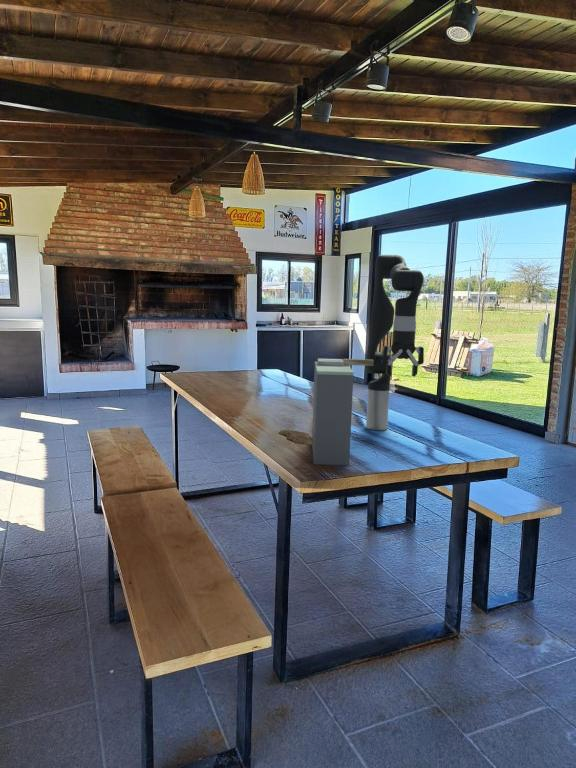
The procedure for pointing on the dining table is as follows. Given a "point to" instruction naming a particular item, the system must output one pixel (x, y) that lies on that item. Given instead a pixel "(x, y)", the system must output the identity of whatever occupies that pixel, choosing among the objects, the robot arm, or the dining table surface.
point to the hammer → (345, 362)
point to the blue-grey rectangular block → (332, 414)
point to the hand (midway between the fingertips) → (401, 376)
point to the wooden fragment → (297, 436)
